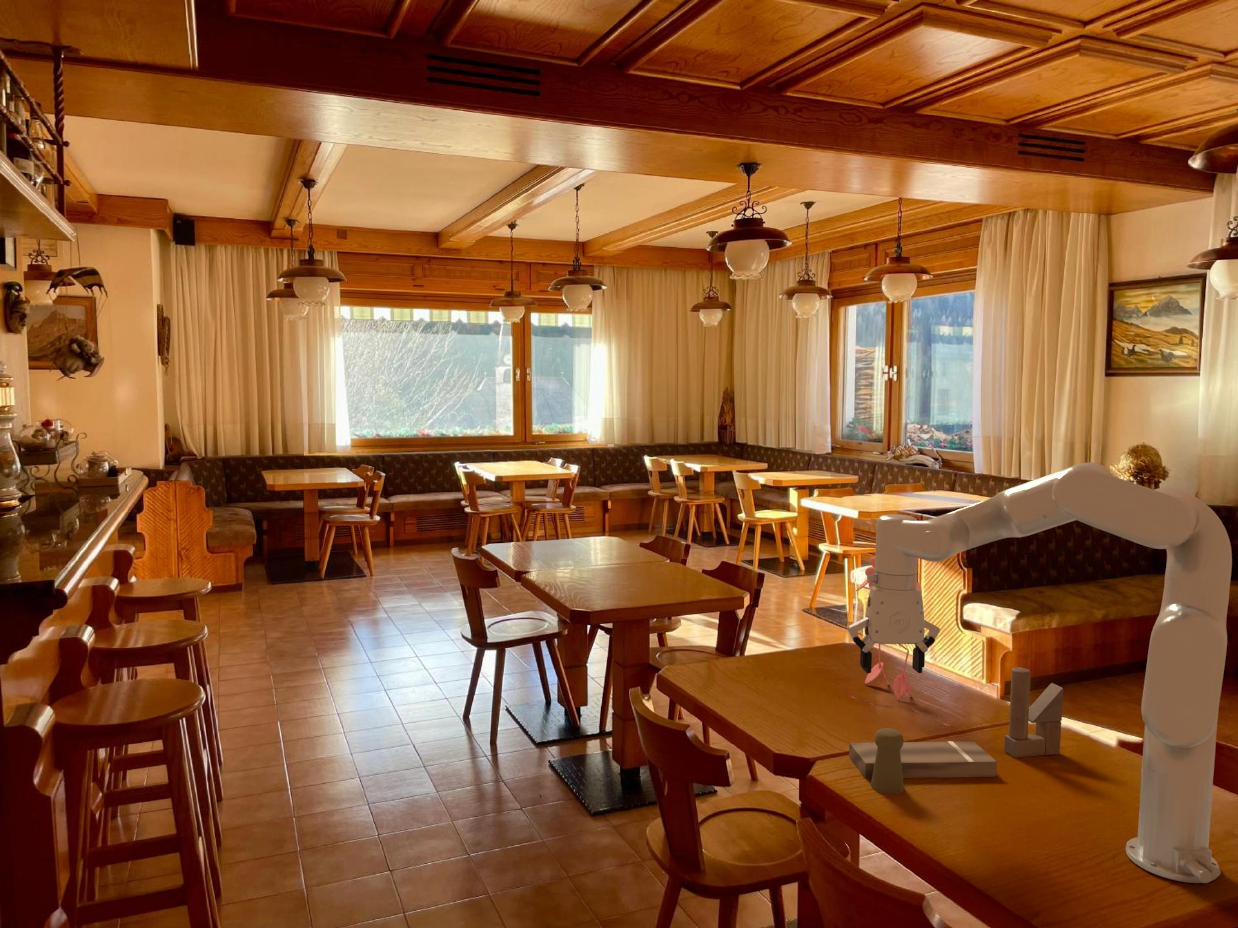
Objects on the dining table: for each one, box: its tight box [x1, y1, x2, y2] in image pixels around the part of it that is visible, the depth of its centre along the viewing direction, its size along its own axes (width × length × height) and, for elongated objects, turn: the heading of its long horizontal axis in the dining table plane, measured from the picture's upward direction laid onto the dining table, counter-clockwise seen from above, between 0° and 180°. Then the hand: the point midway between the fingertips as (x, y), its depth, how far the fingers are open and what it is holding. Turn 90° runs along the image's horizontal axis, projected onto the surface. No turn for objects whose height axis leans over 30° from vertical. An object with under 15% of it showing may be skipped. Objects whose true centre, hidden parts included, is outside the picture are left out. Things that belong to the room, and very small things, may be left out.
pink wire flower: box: [845, 556, 923, 708], centre depth 218 cm, size 15×26×35 cm, turn 19°
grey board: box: [848, 740, 998, 779], centre depth 176 cm, size 10×26×3 cm, turn 93°
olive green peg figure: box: [870, 727, 905, 795], centre depth 166 cm, size 6×6×11 cm
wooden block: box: [1003, 666, 1064, 758], centre depth 183 cm, size 4×11×18 cm, turn 102°
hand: (891, 670), depth 165 cm, fingers open, 9 cm apart
